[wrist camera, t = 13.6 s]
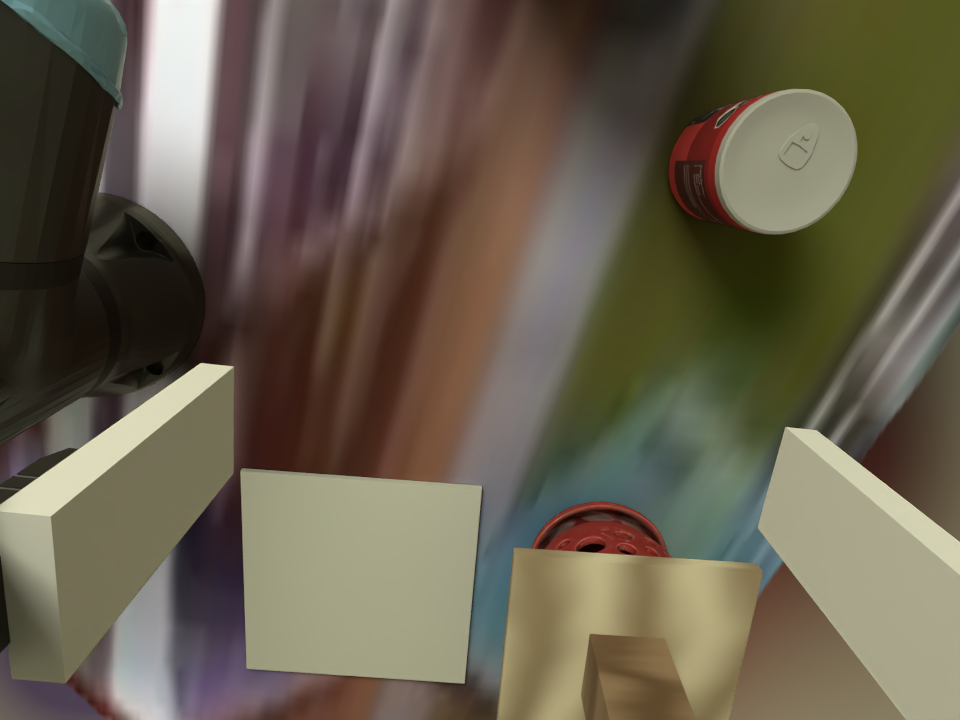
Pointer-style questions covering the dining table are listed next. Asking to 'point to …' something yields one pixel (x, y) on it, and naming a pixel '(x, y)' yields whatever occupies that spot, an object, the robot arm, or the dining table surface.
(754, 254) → the dining table surface
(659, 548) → the plant pot
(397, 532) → the mat
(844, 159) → the canned food
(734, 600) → the lid
